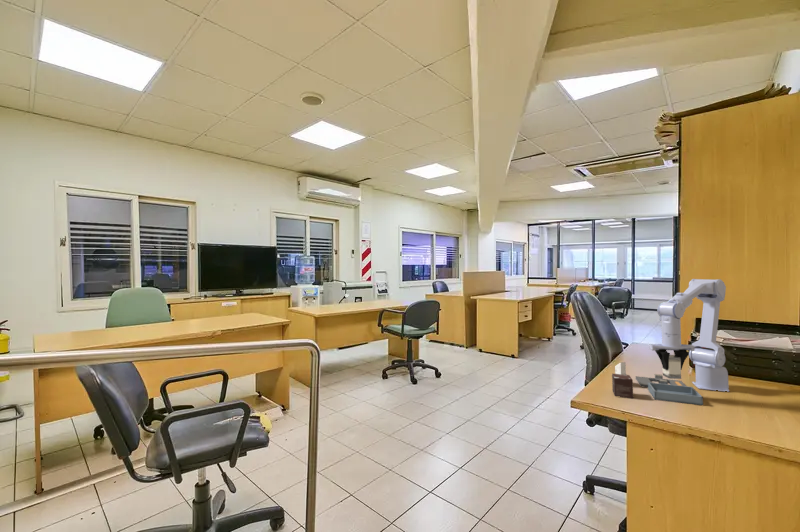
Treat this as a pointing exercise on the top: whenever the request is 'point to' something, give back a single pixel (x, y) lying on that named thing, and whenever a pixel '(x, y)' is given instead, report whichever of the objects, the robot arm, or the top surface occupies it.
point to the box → (622, 385)
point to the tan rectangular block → (673, 368)
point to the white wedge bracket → (620, 368)
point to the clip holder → (644, 380)
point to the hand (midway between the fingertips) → (672, 369)
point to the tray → (675, 393)
